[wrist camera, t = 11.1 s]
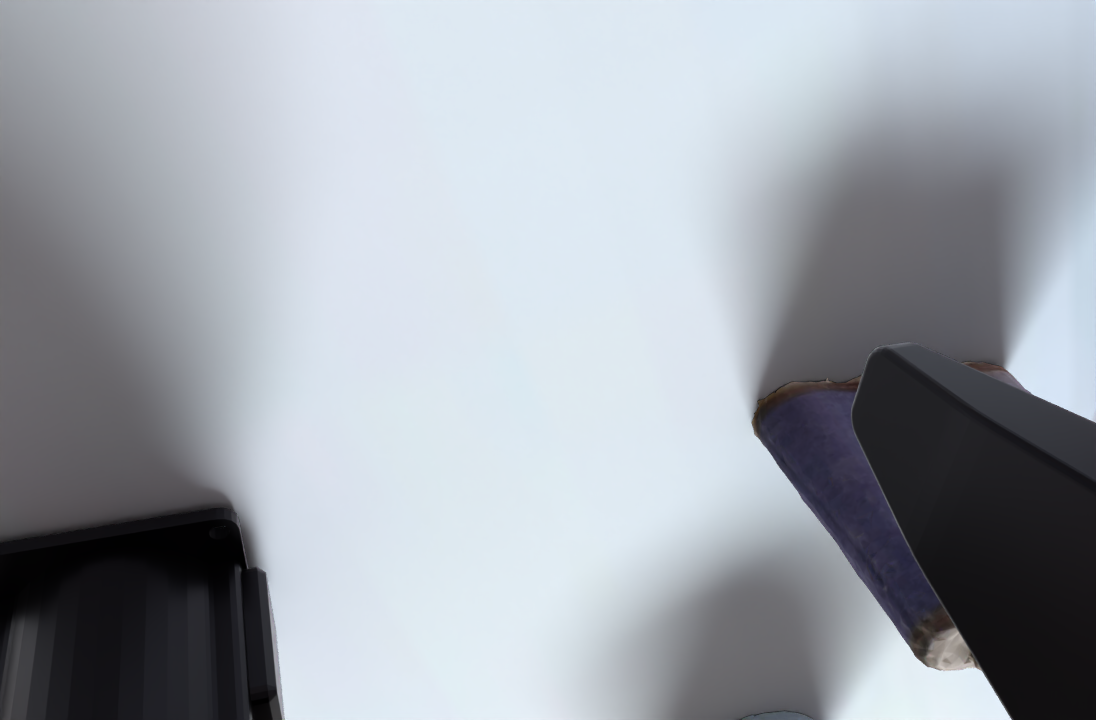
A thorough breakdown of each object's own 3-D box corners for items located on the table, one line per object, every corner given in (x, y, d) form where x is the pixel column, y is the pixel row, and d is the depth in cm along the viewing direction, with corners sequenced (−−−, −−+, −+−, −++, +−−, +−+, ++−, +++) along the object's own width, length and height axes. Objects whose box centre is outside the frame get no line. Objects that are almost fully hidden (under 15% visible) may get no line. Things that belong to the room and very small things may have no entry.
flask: (1014, 354, 32) (1303, 616, 23) (981, 423, 33) (1238, 690, 25) (760, 380, 29) (987, 687, 21) (738, 454, 31) (939, 764, 22)
